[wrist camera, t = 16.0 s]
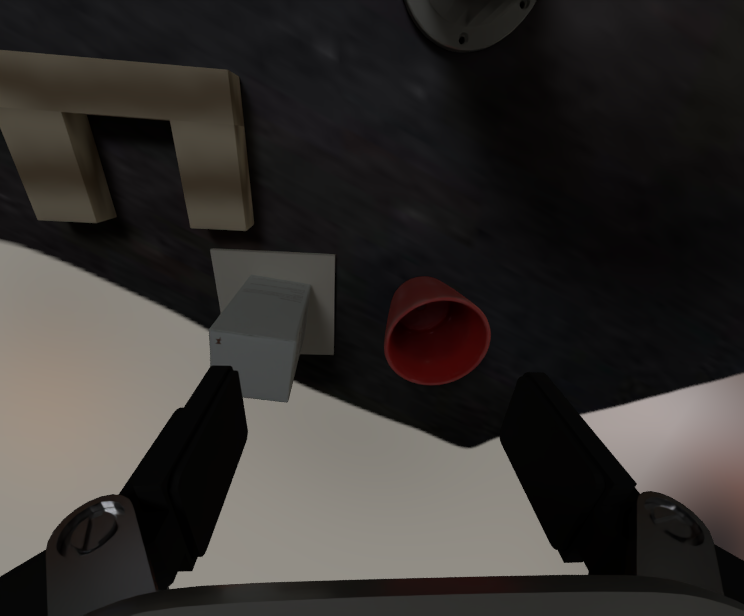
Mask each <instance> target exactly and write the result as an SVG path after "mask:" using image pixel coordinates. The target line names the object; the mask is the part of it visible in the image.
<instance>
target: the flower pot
mask: <svg viewBox="0 0 744 616" xmlns="http://www.w3.org/2000/svg"><path fill="white" fill-rule="evenodd" d="M490 338H491V333H490V326H489V323H488V320H487V318H486V316H485V315H484V313H483V312H482V311H481V310H480V309H479V308H478V307H477V306H476V305H475V304H473V303H472V302H471V301H470V300H468V299H467V298H465V297H464V296H463V295H461V294H460V293H458V292H457V291H455V290H454V289H452V288H451V287H449V286H448V285H446V284H444V283H443V282H441V281H439V280H438V279H435V278H432V277H425V276H423V277H416V278H412V279H410V280H408V281H406V282H405V283H403V284H402V285H401V286H400V287H399V288H398V289H397V290H396V292H395V294H394V295H393V298H392V302H391V306H390V310H389V315H388V320H387V326H386V332H385V341H384V352H385V357H386V359H387V362H388V364H389V365H390V367H391V368H392V369H393V370H394V371H395V372H396V373H397V374H398V375H399V376H401V377H402V378H404V379H406V380H408V381H410V382H413V383H417V384H422V385H441V384H446V383H450V382H453V381H455V380H458V379H460V378H462V377H463V376H465V375H467V374H468V373H469V372H471V371H472V370H473V369H474V368H475V367H477V366H478V364H479V363H480V362H481V361H482V359H483V358H484V356H485V354H486V353H487V350H488V348H489V344H490Z"/></svg>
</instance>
